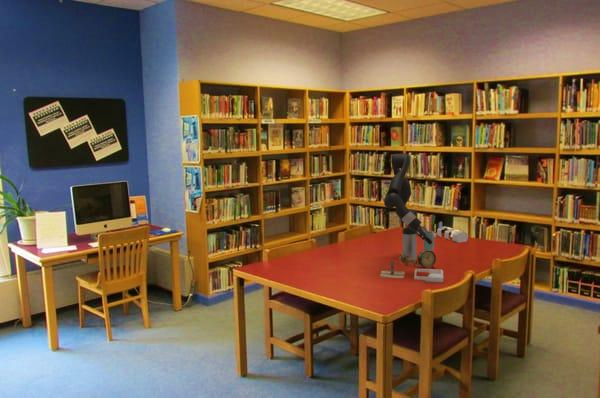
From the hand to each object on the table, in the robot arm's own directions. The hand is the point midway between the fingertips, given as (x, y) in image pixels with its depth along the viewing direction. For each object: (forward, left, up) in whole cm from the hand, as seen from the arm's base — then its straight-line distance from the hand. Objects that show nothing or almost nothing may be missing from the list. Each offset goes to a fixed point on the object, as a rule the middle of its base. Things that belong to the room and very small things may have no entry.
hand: (432, 242), depth 287 cm
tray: (0, -2, -22) cm, 22 cm away
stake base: (0, -23, -22) cm, 31 cm away
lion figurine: (-20, -14, -22) cm, 33 cm away
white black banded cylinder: (-106, +15, -22) cm, 109 cm away
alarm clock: (-20, -3, -22) cm, 30 cm away
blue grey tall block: (0, -2, -4) cm, 5 cm away
